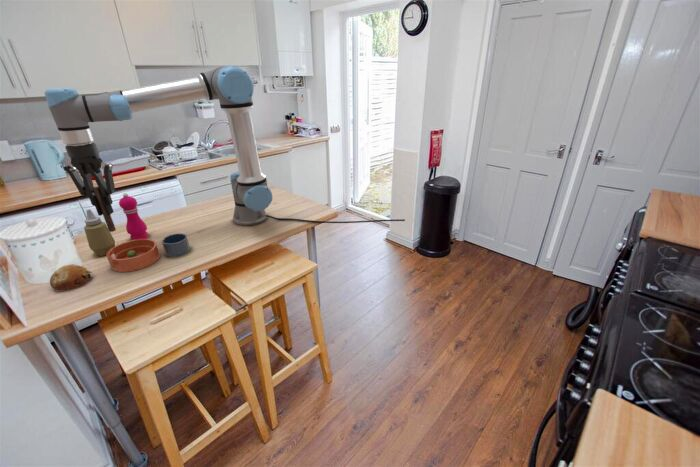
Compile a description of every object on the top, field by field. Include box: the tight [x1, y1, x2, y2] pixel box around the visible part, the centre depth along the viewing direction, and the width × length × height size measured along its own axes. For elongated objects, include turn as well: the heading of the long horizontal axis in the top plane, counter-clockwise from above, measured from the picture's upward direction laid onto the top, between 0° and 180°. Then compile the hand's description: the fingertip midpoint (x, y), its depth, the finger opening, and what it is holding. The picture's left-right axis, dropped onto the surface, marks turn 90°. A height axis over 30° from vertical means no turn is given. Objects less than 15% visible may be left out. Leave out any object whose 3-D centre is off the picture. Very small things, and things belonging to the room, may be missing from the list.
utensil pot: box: [161, 233, 191, 258], centre depth 123 cm, size 9×9×6 cm
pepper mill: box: [118, 193, 149, 240], centre depth 130 cm, size 7×7×20 cm
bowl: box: [105, 238, 161, 273], centre depth 116 cm, size 16×16×6 cm
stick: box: [92, 185, 117, 233], centre depth 107 cm, size 2×2×16 cm
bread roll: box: [49, 263, 92, 292], centre depth 105 cm, size 10×10×8 cm
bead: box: [127, 250, 137, 258], centre depth 118 cm, size 3×3×3 cm
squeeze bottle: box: [83, 208, 116, 257], centre depth 120 cm, size 8×8×18 cm
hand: (106, 213), depth 108 cm, fingers closed on stick, 2 cm apart
